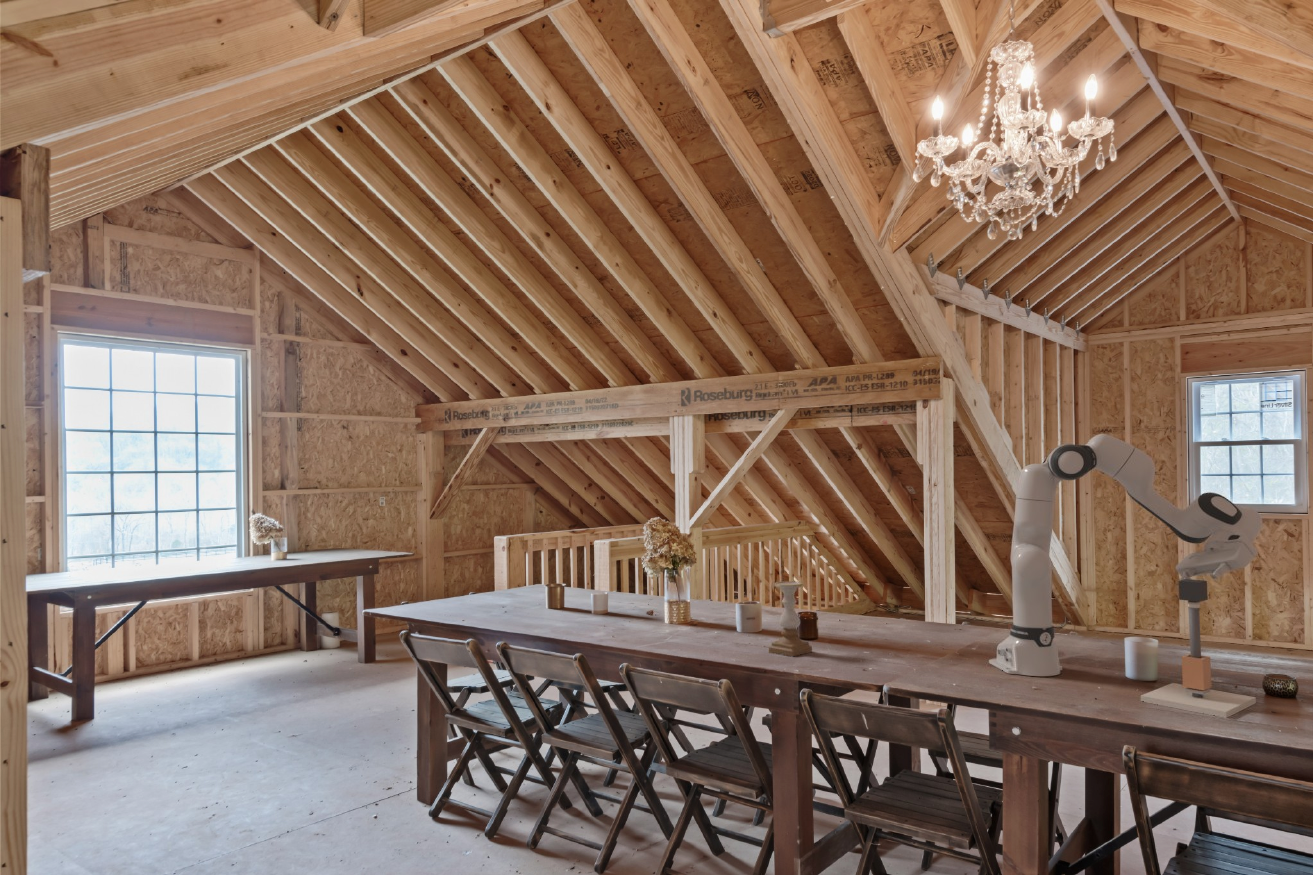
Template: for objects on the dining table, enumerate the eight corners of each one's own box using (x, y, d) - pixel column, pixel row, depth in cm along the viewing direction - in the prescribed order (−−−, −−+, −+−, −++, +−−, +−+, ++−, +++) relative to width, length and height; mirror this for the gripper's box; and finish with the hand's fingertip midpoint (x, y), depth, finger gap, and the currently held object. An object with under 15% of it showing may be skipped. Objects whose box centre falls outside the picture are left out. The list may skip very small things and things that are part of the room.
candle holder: (793, 657, 286) (791, 586, 287) (768, 652, 294) (766, 583, 295) (812, 651, 294) (810, 582, 294) (787, 647, 302) (786, 580, 302)
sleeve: (1182, 686, 224) (1181, 656, 225) (1190, 683, 227) (1189, 653, 228) (1203, 690, 220) (1202, 659, 221) (1211, 687, 223) (1210, 656, 224)
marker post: (1140, 701, 226) (1135, 580, 227) (1172, 688, 238) (1168, 573, 239) (1226, 717, 210) (1220, 588, 211) (1255, 703, 222) (1250, 580, 223)
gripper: (1185, 546, 247) (1160, 574, 242) (1248, 534, 228) (1223, 564, 223) (1199, 563, 247) (1174, 592, 241) (1264, 552, 228) (1239, 583, 222)
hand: (1198, 579), depth 232 cm, fingers open, 8 cm apart
